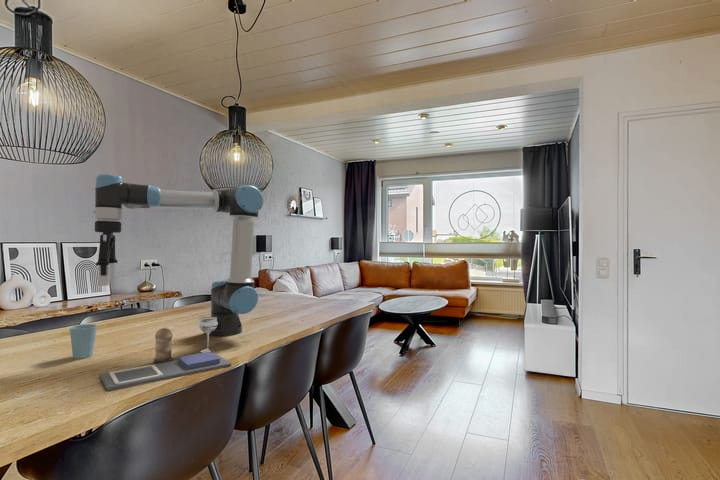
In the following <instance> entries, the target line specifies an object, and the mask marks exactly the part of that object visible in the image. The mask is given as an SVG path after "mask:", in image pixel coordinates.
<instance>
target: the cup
mask: <svg viewBox="0 0 720 480" xmlns="http://www.w3.org/2000/svg"><path fill="white" fill-rule="evenodd" d="M97 328H98V325H97V324H93V323H92V324H91V323H90V324H89V323H87V324H79V325H73V326H70V327H69V335H70V343H71V353H72V359H76V360H79V359H80V360H81V359H87V358H90V357H92V356H93V355H94V348H95V341H96V336H97V335H96V334H97V331H98V330H97Z"/></svg>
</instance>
